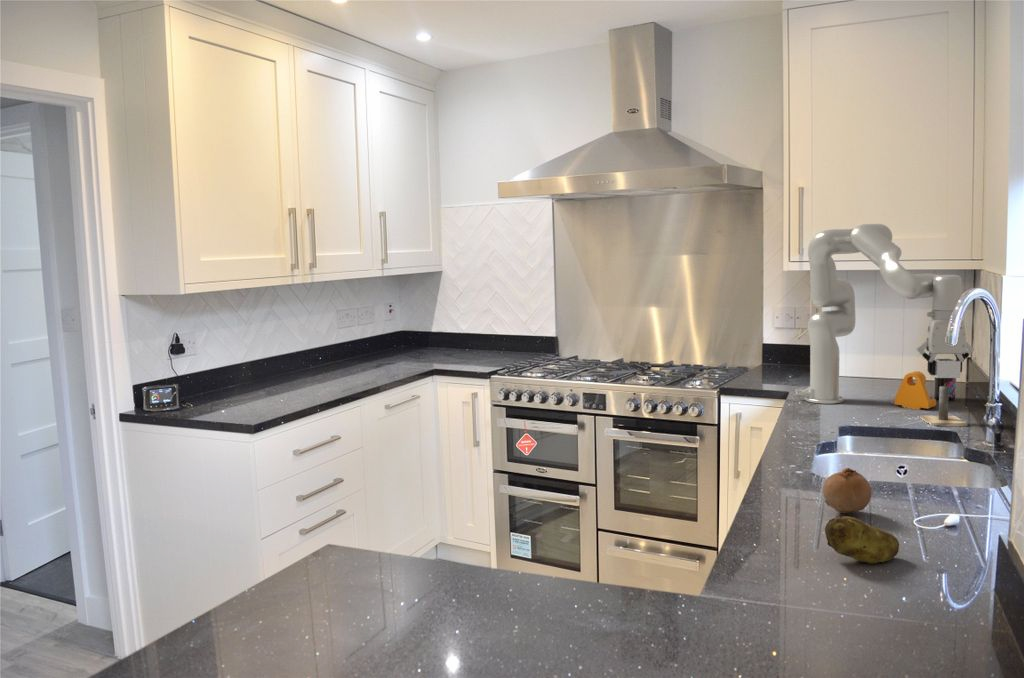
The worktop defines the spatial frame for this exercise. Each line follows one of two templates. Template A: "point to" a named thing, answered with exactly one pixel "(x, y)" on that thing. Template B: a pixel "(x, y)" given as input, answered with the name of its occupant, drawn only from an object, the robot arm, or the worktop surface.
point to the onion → (847, 491)
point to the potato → (860, 540)
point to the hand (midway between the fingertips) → (944, 374)
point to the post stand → (943, 412)
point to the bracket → (914, 392)
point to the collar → (947, 368)
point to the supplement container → (948, 383)
